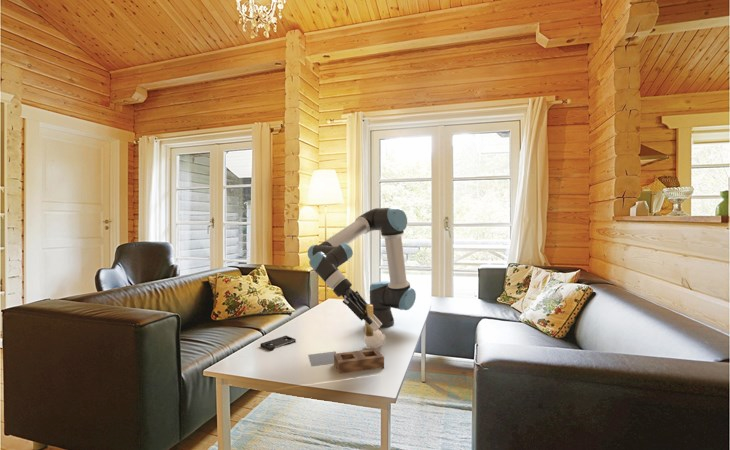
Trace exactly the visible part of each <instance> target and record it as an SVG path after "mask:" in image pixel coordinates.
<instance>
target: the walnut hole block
mask: <svg viewBox="0 0 730 450" xmlns="http://www.w3.org/2000/svg"><path fill="white" fill-rule="evenodd" d="M333 365H334V367H335V369H336V370H337V372H338V374H339V375H340V374H347V373H354V372H361V371H367V370H369V371H370V370H375V369H385V356H384V355H383V354H382V353H381V352H380V350H379V348H377V349H370V348H369V349H364V350H363V349H362V350H361V349H360V350H356V351H355V350H353V351H347V352H339V353H337V352H336V354H334V364H333Z"/></svg>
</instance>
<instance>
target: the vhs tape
mask: <svg viewBox="0 0 730 450" xmlns="http://www.w3.org/2000/svg"><path fill="white" fill-rule="evenodd" d="M296 340H297V339H296V338H294V337H291V336H288V335H283V336H280V337H277V338H273V339H271V340H267V341H265V342H261V343H260V347H259V348H261V349H265V350H267V351H269V352H271V351H274V349H278V348H280V347H285V346H289V345H291V344H295V343H296V342H297V341H296Z"/></svg>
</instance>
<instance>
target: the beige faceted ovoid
mask: <svg viewBox="0 0 730 450" xmlns="http://www.w3.org/2000/svg"><path fill="white" fill-rule="evenodd" d="M363 337H364V338H363V341H364V343H365V346H366V347H368V348H369V349H379V348H380V347H382V345H383V344H384V340H386V339H387V337H386V334H385V333H382V331H381V330H380V329H378V330H376V331H374V330H373V336H365V335H364V336H363Z"/></svg>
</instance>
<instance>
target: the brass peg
mask: <svg viewBox="0 0 730 450" xmlns="http://www.w3.org/2000/svg"><path fill="white" fill-rule="evenodd" d="M365 312H366V313H367V315H368V314H369V315H370V316H371V317H372V318H373V305H372V304H370V303H367V304H366V305H365ZM364 324H365V326H364V328H365V329H364V330H365V331H364V336H373V329H372V328H371V327H370V326H369V325H368V324H367V323H366V321H365V320H364Z"/></svg>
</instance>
